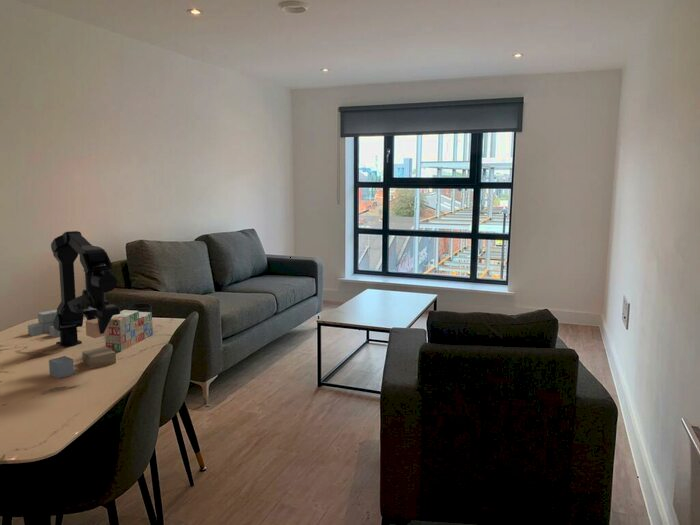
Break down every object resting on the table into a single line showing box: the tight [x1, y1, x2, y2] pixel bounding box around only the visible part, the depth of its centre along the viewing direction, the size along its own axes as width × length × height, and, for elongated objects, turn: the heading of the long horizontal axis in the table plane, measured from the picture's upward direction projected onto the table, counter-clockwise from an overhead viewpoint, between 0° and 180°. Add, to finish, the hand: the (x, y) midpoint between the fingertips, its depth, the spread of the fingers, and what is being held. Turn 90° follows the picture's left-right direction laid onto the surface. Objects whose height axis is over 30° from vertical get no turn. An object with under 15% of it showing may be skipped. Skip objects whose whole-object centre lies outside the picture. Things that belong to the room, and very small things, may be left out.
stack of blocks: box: [104, 309, 154, 352], centre depth 196 cm, size 21×6×12 cm, turn 170°
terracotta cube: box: [85, 319, 109, 339], centre depth 173 cm, size 5×5×5 cm
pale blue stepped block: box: [27, 308, 60, 338], centre depth 204 cm, size 12×12×8 cm
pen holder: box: [126, 302, 152, 313], centre depth 213 cm, size 9×9×10 cm
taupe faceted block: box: [81, 346, 117, 369], centre depth 175 cm, size 8×8×4 cm
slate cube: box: [48, 355, 75, 379], centre depth 164 cm, size 5×5×5 cm
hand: (97, 332), depth 174 cm, fingers closed on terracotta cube, 5 cm apart
